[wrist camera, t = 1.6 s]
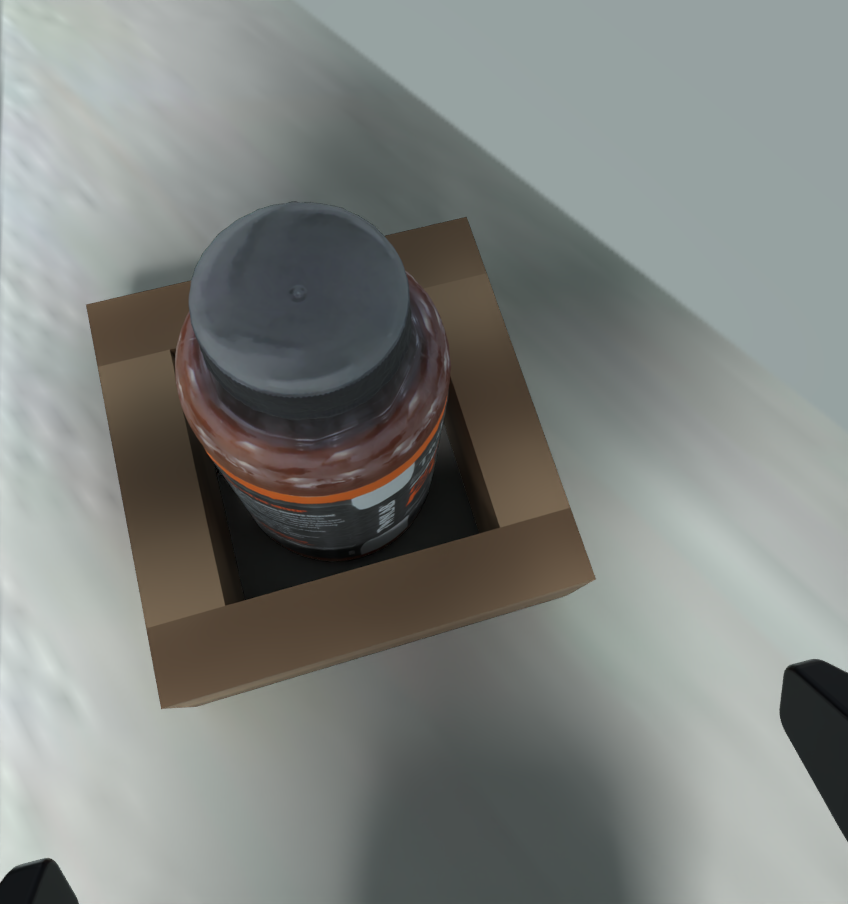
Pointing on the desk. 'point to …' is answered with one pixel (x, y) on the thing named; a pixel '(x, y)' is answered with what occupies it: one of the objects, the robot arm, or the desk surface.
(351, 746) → the desk surface
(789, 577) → the desk surface
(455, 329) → the walnut pocket block
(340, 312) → the supplement bottle
